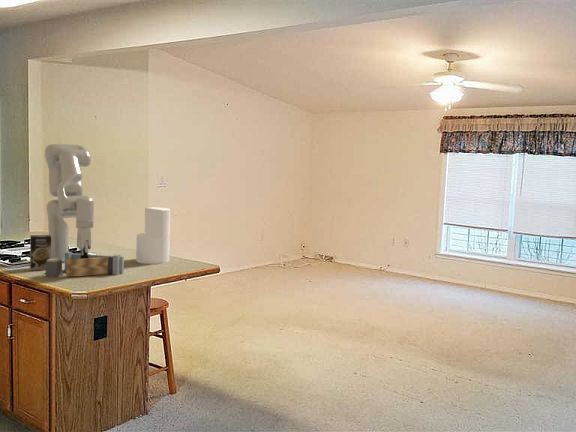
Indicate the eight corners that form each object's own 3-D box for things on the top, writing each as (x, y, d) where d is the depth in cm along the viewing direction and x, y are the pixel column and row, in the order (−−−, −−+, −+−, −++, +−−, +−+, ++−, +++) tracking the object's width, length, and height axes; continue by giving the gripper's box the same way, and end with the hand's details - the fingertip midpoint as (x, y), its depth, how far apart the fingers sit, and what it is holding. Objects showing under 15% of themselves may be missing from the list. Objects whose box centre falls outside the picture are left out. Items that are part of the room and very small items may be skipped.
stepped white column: (157, 256, 309) (158, 206, 306) (175, 261, 297) (177, 209, 294) (130, 259, 297) (130, 207, 294) (147, 265, 285) (148, 211, 282)
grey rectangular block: (45, 276, 250) (45, 260, 249) (51, 274, 255) (51, 258, 254) (56, 277, 249) (56, 260, 248) (61, 275, 254) (61, 258, 253)
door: (111, 272, 262) (112, 256, 261) (112, 273, 261) (113, 256, 260) (66, 276, 251) (66, 258, 250) (67, 276, 250) (67, 259, 249)
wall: (62, 271, 262) (62, 252, 261) (67, 269, 266) (67, 250, 265) (119, 275, 260) (120, 256, 259) (123, 273, 264) (123, 254, 263)
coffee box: (30, 270, 260) (30, 236, 258) (29, 268, 266) (29, 234, 264) (51, 269, 264) (51, 236, 262) (50, 267, 270) (50, 234, 268)
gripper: (73, 222, 259) (73, 260, 261) (79, 226, 247) (78, 267, 249) (90, 222, 263) (89, 260, 265) (96, 226, 250) (96, 266, 252)
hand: (84, 263), depth 257 cm, fingers closed
